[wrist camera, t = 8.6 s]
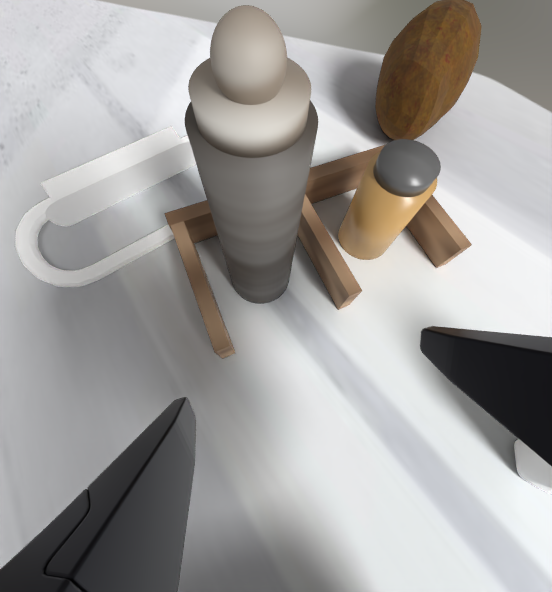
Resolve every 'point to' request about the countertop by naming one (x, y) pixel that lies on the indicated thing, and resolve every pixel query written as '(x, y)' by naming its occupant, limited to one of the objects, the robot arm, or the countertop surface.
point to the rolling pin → (102, 203)
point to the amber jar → (388, 197)
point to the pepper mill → (253, 148)
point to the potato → (427, 68)
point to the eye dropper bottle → (533, 467)
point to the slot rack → (310, 240)
